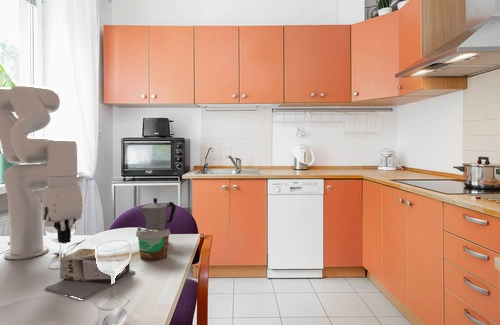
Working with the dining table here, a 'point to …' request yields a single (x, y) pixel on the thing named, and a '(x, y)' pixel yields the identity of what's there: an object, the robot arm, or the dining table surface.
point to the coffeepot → (157, 214)
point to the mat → (81, 287)
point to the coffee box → (85, 267)
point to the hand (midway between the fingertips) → (64, 242)
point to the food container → (153, 244)
